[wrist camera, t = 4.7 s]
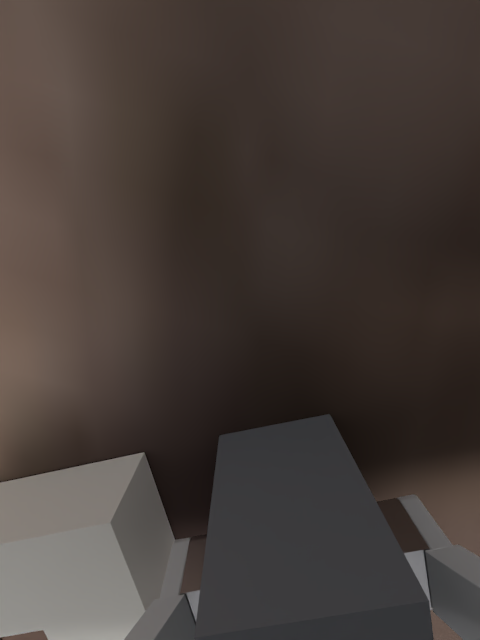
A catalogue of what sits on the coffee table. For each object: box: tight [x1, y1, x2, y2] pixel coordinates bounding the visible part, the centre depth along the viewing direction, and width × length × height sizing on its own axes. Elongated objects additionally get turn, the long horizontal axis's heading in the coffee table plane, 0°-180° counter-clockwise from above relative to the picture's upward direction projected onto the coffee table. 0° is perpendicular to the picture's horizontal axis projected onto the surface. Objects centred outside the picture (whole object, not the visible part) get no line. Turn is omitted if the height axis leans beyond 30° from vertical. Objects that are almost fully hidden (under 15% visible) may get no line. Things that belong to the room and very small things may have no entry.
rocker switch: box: [194, 414, 433, 640], centre depth 9 cm, size 4×4×6 cm
